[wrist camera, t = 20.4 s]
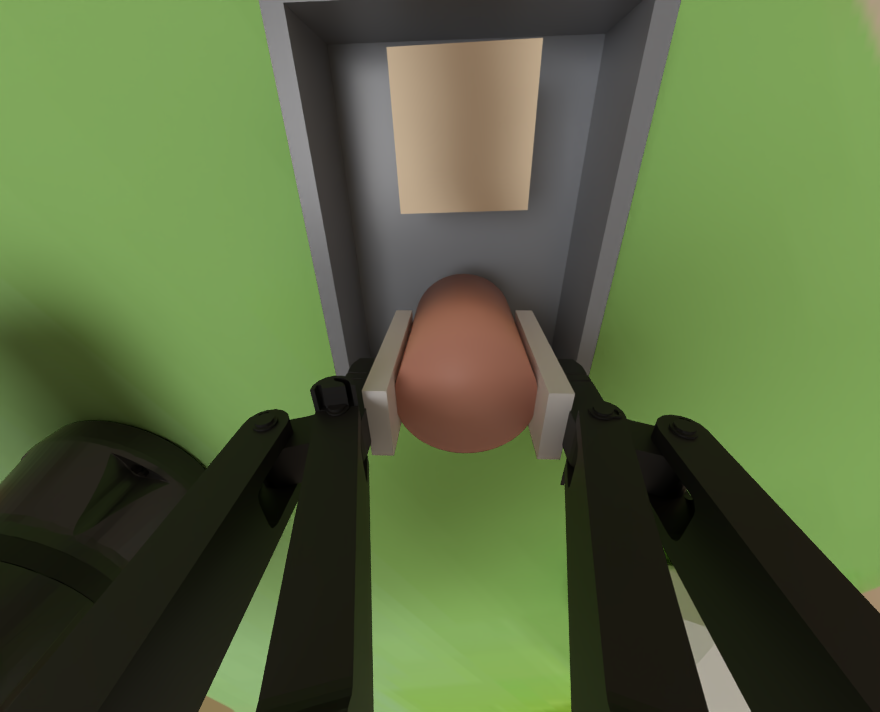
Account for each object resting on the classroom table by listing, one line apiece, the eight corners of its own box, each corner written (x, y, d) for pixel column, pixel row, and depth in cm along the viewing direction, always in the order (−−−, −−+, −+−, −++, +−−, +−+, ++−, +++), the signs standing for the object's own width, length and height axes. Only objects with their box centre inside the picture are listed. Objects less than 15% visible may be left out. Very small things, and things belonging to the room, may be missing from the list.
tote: (556, 364, 23) (580, 409, 19) (363, 362, 24) (342, 406, 19) (621, 14, 14) (694, -54, 10) (312, 27, 15) (252, -32, 10)
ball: (518, 617, 28) (1071, 1473, 9) (706, 446, 34) (1261, 766, 16) (539, 659, 38) (821, 1103, 20) (679, 522, 44) (993, 767, 26)
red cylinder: (418, 360, 19) (400, 451, 13) (412, 274, 16) (386, 336, 10) (506, 360, 19) (529, 454, 13) (514, 273, 16) (548, 337, 10)
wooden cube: (414, 202, 17) (400, 213, 13) (406, 82, 15) (386, 47, 11) (509, 199, 17) (527, 209, 13) (517, 76, 15) (542, 37, 10)
